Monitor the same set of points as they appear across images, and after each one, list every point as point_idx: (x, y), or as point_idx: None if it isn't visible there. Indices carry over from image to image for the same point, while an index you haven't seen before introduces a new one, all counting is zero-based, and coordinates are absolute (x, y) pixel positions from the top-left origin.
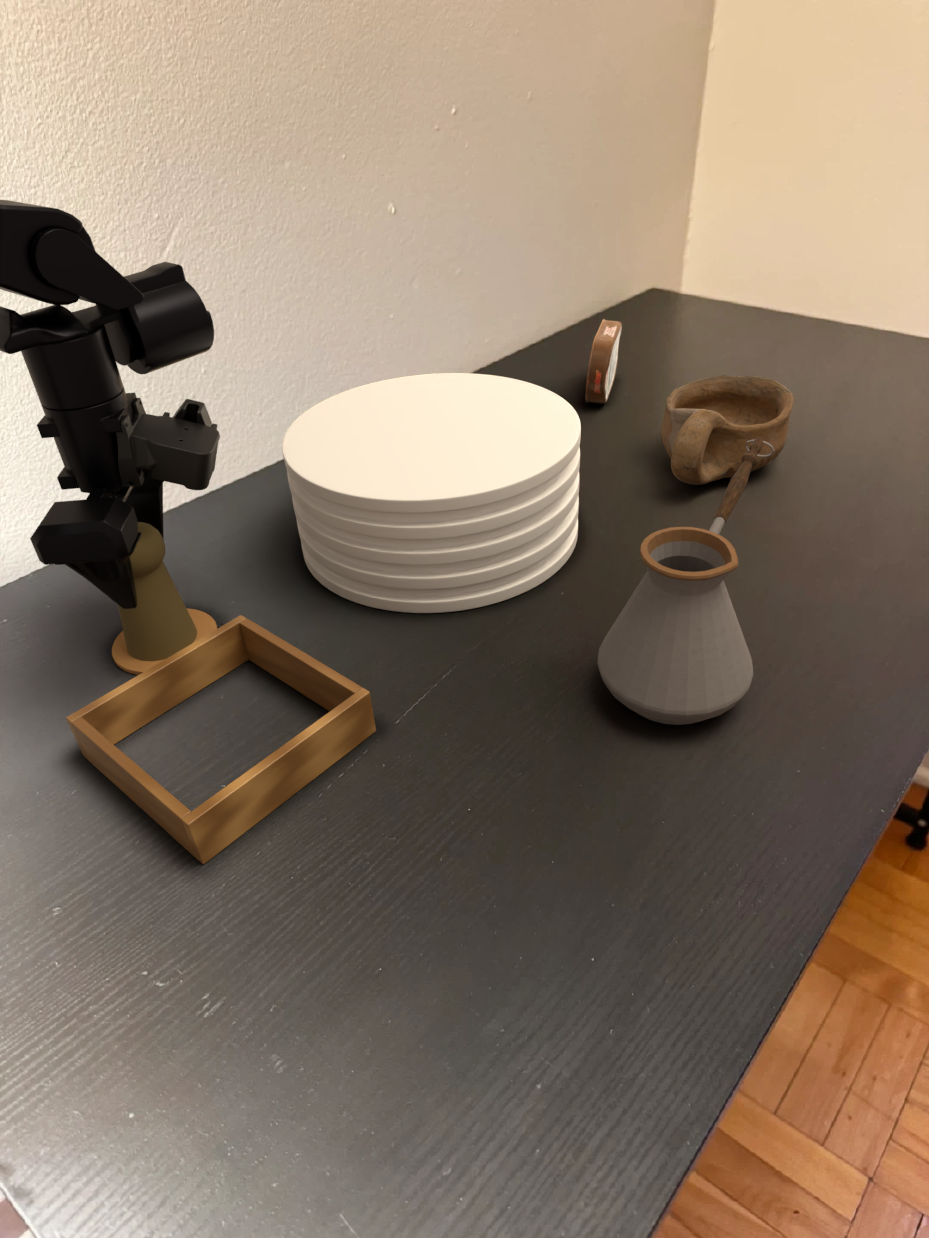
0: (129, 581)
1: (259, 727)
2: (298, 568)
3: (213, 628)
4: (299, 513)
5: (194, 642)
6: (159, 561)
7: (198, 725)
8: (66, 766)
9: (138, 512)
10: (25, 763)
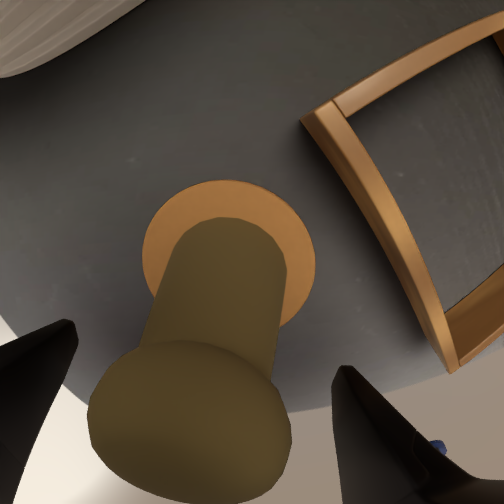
0: (412, 426)
1: (467, 132)
2: (69, 62)
3: (216, 187)
4: (4, 14)
5: (385, 221)
6: (237, 361)
7: (441, 211)
8: (428, 347)
9: (29, 407)
10: (402, 380)
